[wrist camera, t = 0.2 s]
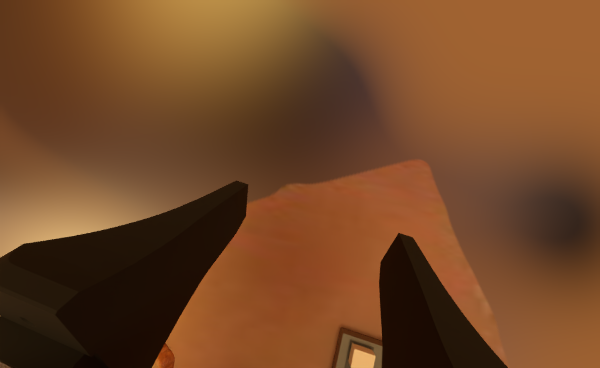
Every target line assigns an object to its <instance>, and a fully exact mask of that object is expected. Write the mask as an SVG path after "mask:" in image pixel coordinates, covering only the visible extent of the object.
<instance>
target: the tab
mask: <svg viewBox="0 0 600 368" xmlns="http://www.w3.org/2000/svg"><path fill="white" fill-rule="evenodd" d="M348 361H349V364H350V367H351V368H373V367H374V362H375V354H374V352H373V351H372V350H371V349H368V348H366V347H363V346H360V345H357V344H354V343H352V345H351V350H350V355H349V360H348Z"/></svg>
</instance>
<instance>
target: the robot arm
mask: <svg viewBox="0 0 600 368" xmlns="http://www.w3.org/2000/svg"><path fill="white" fill-rule="evenodd" d="M247 193H248V184H245V183H242V182H239V181H235V182H233V183H231V184H228V185H226V186H224V187H222V188H220V189H218V190H216V191H214V192H212V193H210V194H208V195H206V196H204V197H201V198H199V199H197V200H195V201H192V202H190V203H187V204H185V205H183V206H181V207H178V208H176V209H173V210H170V211H167V212H165V213H162V214H159V215H156V216H153V217H150V218H147V219H143V220H140V221H136V222H133V223H129V224H125V225H121V226H118V227H114V228H110V229H106V230H101V231H97V232H91V233H86V234H82V235H76V236H71V237H65V238H59V239H52V240H46V241H40V242H33V243H26V244H23V245H21V246H19V247H18V248H16V249H14V250H13V251H11V252H9V253H7V254H6V255H4V256H2V257H1V258H0V316H1V317H0V368H152V367H153V365H154V363H155V361H156V359H157V357H158V355H159V353H160V352H161V350H162V348H163V346H164V344H165V342H166V340H167V339H168V337H169V335H170V333H171V331H172V330H173V328H174V326H175V324H176V322H177V321H178V319H179V317H180V315H181V314H182V312H183V310H184V309H185V307H186V305H187V303H188V302H189V300H190V298H191V297H192V295H193V293H194V292H195V290H196V288H197V287H198V285H199V284H200V282H201V280H202V279H203V277H204V276H205V274H206V273H207V271H208V270H209V269H210V267H211V266H212V265H213V263H214V262H215V261H216V259H217V258H218V257H219V255H220V254H221V253H222V251H223V250H224V249H225V247H226V246H227V245H228V243H229V242H230V241H231V239H232V238H233V237H234V235H235V234H236V232H237V231H238V229H239V227H240V226H241V224H242V222H243V220H244V218H245V217H246V207H247ZM379 289H380V308H381V324H382V368H508V367H507V366H506V365H505V364H504V363H503V362H502V361H501V359H500V358H499V357H498V356H497V355H496V354H495V353H494V351H493V350H492V349H491V348H490V347H489V346H488V344H487V343H486V342H485V341H484V340H483V338H482V337H481V336H480V335H479V333H478V332H477V331H476V330H475V328H474V327H473V326H472V325H471V323H470V322H469V321H468V320H467V318H466V317H465V316H464V314H463V313H462V312H461V310H460V309H459V308H458V306H457V305H456V303H455V302H454V301H453V299H452V298H451V296H450V295H449V294H448V292H447V291H446V289H445V288H444V286H443V285H442V283H441V282H440V280H439V279H438V277H437V275H436V274H435V272H434V271H433V269H432V268H431V266H430V264H429V263H428V261H427V260H426V258H425V256H424V255H423V253H422V251H421V250H420V248H419V247H418V245H417V243H416V242H415V240H414V239H413V237H410V236H407V235H403V234H400V233H398V235H397V237H396V238H395V240H394V241H393V243H392V245H391V246H390V248H389V249H388V251H387V253H386V254H385V256H384V257H383V259H382V261H381V266H380V279H379Z"/></svg>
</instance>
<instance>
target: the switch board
mask: <svg viewBox="0 0 600 368" xmlns="http://www.w3.org/2000/svg"><path fill="white" fill-rule="evenodd" d="M352 343H354V344H357V345H360V346H363V347H366V348H368V349H371V350H372V351H373V352H374V354H375V362H374V367H373V368H382V341H380V340H377V339H374V338H371V337H368V336H365V335H362V334H359V333H356V332H353V331H350V330H347V329H344V328H341V330H340V335H339V339H338V344H337V348H336V353H335V357H334V362H333V366H332V368H351V367H350V364H349V361H348V360H349V355H350V350H351V345H352Z"/></svg>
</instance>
